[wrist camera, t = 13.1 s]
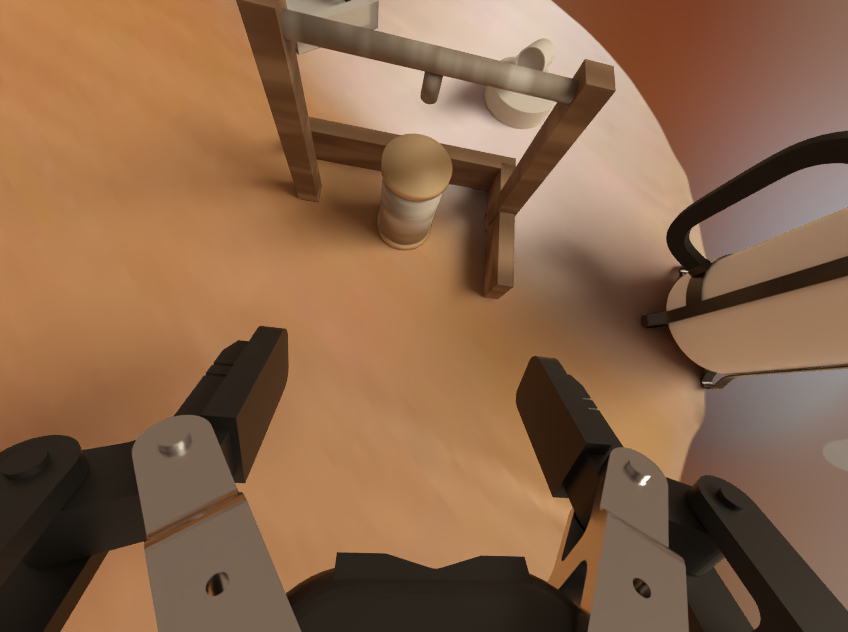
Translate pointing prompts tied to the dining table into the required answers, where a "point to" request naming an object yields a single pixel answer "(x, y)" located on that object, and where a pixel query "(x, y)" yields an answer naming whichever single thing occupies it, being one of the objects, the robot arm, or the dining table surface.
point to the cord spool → (411, 189)
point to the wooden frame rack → (364, 147)
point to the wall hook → (518, 106)
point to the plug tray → (337, 14)
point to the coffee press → (763, 283)
